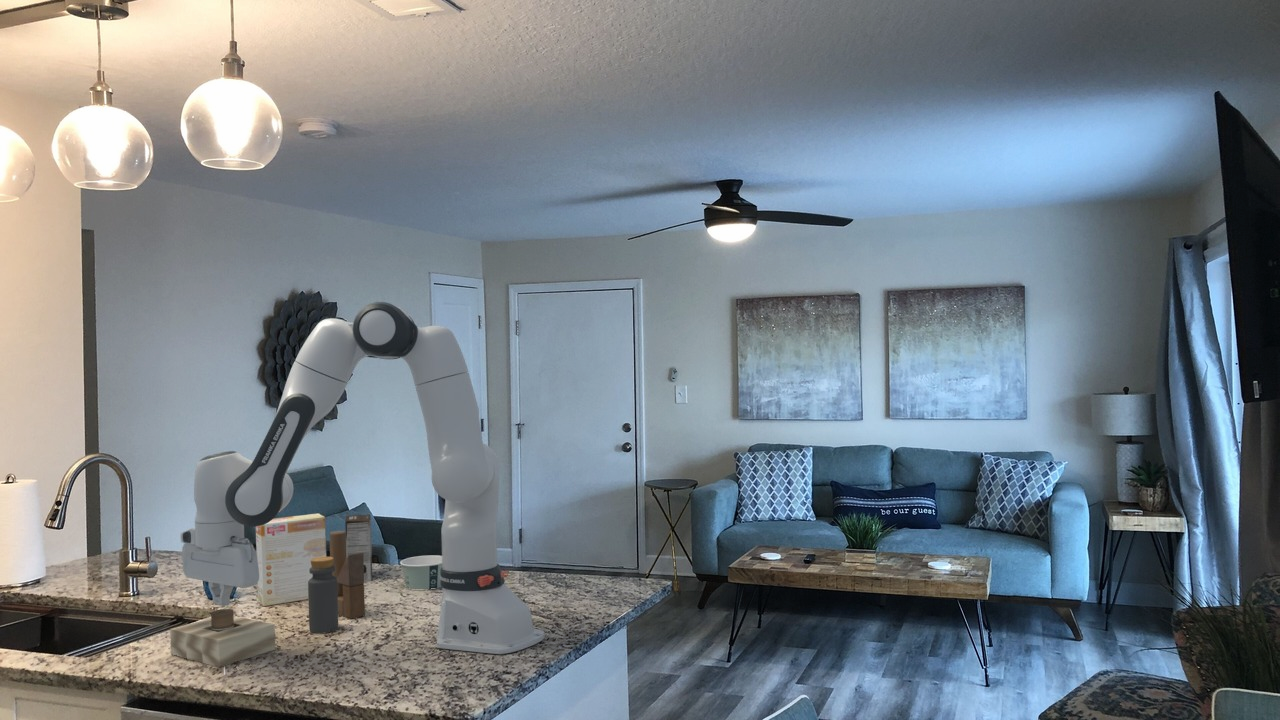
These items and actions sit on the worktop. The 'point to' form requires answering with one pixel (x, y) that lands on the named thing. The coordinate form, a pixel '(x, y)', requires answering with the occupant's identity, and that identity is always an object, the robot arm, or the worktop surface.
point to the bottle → (322, 596)
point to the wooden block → (347, 577)
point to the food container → (422, 571)
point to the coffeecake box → (288, 556)
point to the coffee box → (360, 540)
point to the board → (222, 641)
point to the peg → (222, 620)
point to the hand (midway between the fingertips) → (221, 604)
